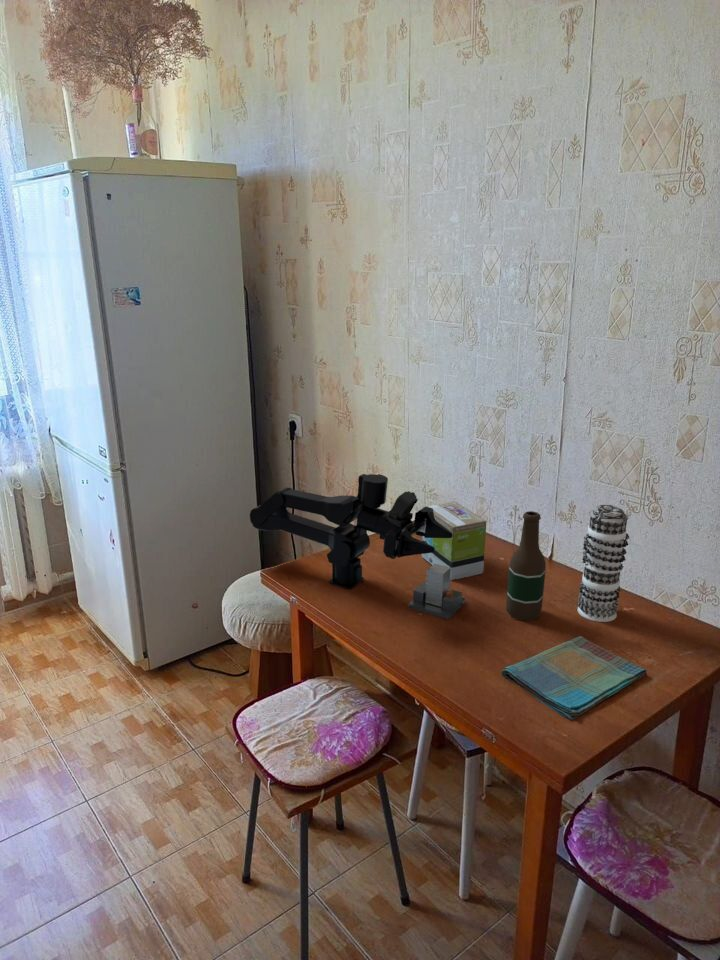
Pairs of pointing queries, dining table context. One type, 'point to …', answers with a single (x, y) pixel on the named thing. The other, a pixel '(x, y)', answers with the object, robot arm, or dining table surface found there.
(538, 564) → the beer bottle
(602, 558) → the decorative candle
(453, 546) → the tea box
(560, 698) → the dish towel
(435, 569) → the grey rectangular block
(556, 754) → the dining table surface
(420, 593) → the grey square frame
